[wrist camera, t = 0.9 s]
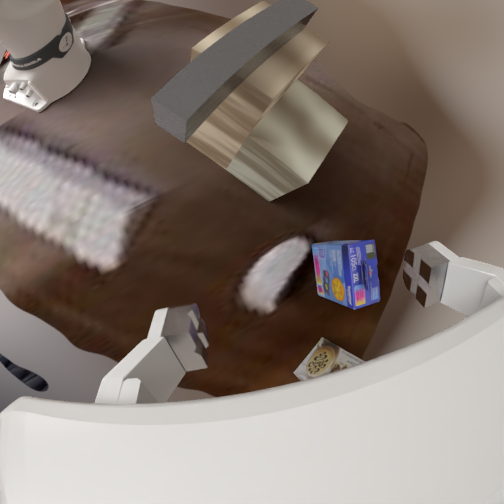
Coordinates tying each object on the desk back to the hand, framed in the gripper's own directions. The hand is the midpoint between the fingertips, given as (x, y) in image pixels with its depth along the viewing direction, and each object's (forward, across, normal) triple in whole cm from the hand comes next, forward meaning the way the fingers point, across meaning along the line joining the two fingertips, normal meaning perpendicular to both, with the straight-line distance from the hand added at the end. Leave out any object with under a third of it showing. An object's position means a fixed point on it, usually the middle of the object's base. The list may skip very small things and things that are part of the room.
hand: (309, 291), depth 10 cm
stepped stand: (+40, -1, -2) cm, 40 cm away
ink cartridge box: (+34, -10, +22) cm, 41 cm away
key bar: (+18, -1, -12) cm, 21 cm away
